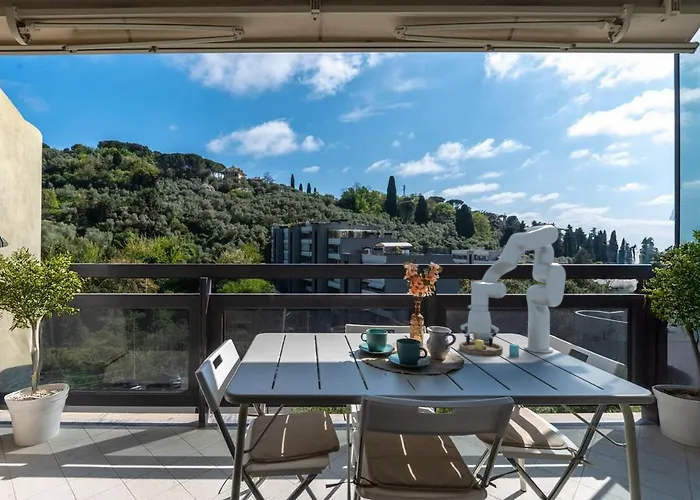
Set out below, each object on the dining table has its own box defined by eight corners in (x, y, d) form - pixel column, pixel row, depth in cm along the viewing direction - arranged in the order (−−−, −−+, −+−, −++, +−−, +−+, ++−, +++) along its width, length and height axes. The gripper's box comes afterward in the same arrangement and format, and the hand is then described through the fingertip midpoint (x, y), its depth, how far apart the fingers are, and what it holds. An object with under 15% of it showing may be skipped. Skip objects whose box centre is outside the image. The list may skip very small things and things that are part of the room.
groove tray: (463, 344, 210) (463, 339, 210) (504, 348, 202) (504, 343, 202) (456, 352, 193) (456, 347, 193) (500, 358, 184) (500, 352, 184)
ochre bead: (473, 351, 191) (473, 340, 191) (475, 349, 195) (475, 339, 195) (482, 352, 190) (482, 341, 190) (484, 350, 193) (484, 340, 193)
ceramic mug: (472, 340, 219) (472, 326, 219) (487, 341, 218) (488, 326, 218) (476, 345, 209) (476, 330, 208) (493, 346, 208) (493, 331, 208)
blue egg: (509, 354, 191) (509, 343, 191) (519, 355, 189) (519, 344, 189) (509, 356, 187) (509, 345, 187) (518, 357, 186) (518, 346, 185)
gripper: (459, 308, 192) (458, 344, 192) (498, 311, 185) (498, 349, 185) (462, 306, 199) (461, 341, 199) (500, 308, 192) (499, 345, 192)
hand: (479, 345), depth 192 cm, fingers open, 9 cm apart
